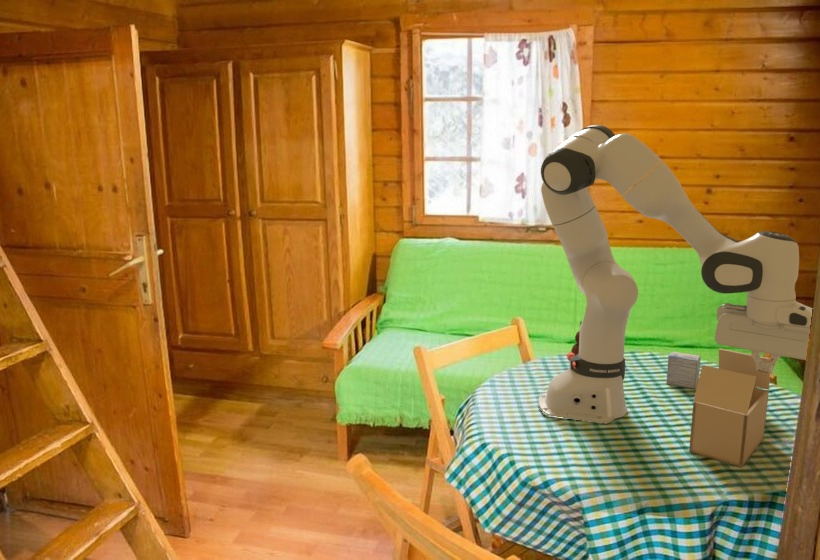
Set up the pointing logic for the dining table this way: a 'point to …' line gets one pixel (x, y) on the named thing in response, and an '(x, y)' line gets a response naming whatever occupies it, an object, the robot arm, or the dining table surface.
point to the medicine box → (683, 369)
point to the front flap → (725, 389)
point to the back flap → (744, 366)
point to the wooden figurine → (576, 347)
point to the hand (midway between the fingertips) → (764, 371)
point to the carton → (729, 430)
